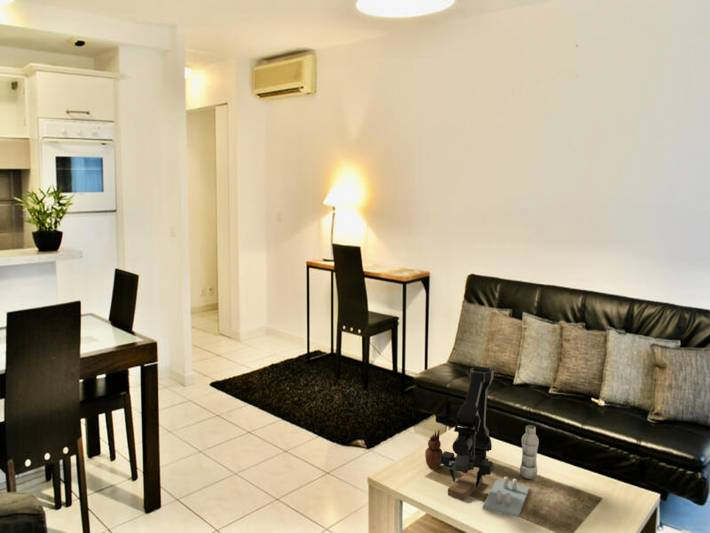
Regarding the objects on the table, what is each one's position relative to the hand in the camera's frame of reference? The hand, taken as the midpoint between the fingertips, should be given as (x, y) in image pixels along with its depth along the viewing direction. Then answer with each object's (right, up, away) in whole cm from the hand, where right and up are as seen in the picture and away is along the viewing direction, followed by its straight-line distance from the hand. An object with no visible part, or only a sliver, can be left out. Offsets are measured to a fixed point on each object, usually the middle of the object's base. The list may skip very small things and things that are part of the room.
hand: (465, 484), depth 209 cm
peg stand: (+13, -3, -6) cm, 15 cm away
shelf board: (0, -2, 0) cm, 2 cm away
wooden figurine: (-9, 0, +17) cm, 19 cm away
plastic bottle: (+26, -1, +9) cm, 28 cm away
